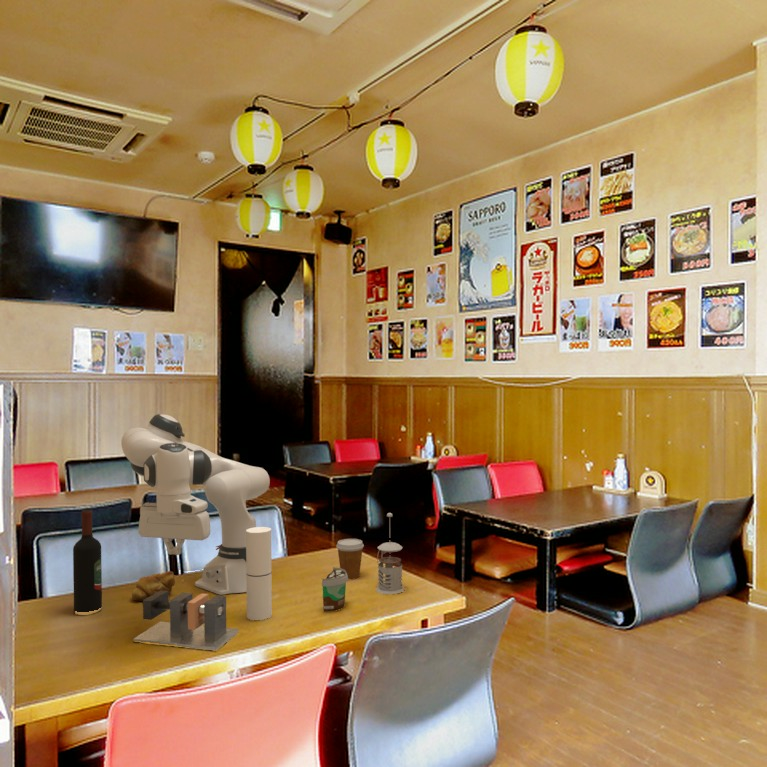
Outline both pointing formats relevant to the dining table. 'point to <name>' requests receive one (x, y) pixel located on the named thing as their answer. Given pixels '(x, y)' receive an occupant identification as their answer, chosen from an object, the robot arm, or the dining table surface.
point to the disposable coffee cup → (350, 556)
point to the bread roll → (153, 585)
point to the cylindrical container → (258, 573)
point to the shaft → (163, 605)
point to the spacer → (196, 611)
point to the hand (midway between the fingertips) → (174, 554)
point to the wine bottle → (87, 568)
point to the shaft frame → (201, 638)
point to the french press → (389, 568)
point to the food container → (334, 590)
